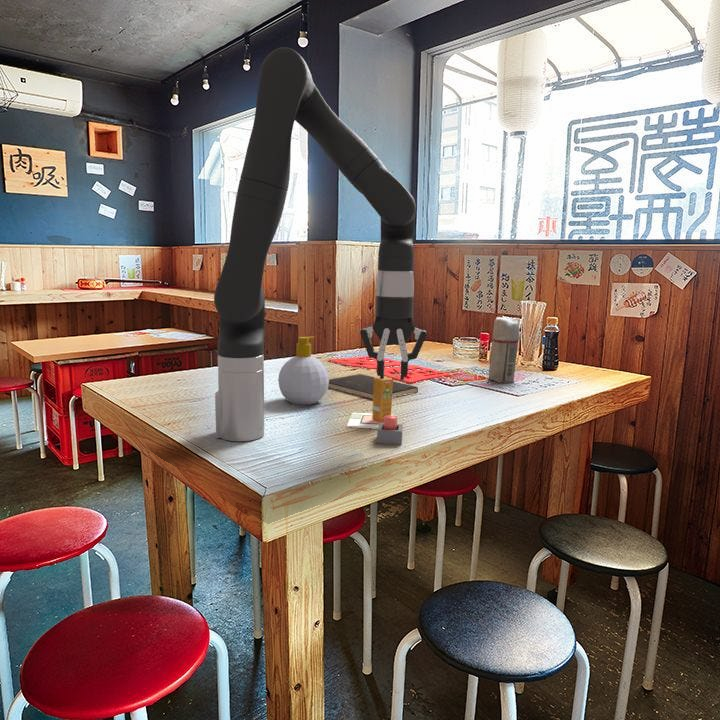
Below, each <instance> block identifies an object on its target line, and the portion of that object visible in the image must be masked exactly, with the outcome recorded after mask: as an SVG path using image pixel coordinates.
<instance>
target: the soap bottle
mask: <svg viewBox="0 0 720 720" xmlns="http://www.w3.org/2000/svg"><path fill="white" fill-rule="evenodd" d="M311 339H312V340H313V339H315V336H299V337H298V343H296V351H295V352H296V355H295V356H294V357H291V358H289V359H288V360H287V361H286V362H285V363H284V364H283V365H282V367H281V368H280V370H279V373H278V379H277V381H278V387H279V388H278V389H279V390H280V392H281V395H282V396H283V397H284V398H285V400H286V401H288V402H289V403H290V404H293V405H296V406H310V405H314V404H316V403H317V402H319V401H320V400H321V399H322V398H323V397H324V396H325V395H326V393H327V391H328V389H329V387H328V385H329V379H330V378H329V373H328V370H327V368H326V367H325V365H324V364H323V363H322V362H321V361H320V360H319V359H318V358H316V357H314V356H312V343H310V341H309V340H311Z"/></svg>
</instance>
